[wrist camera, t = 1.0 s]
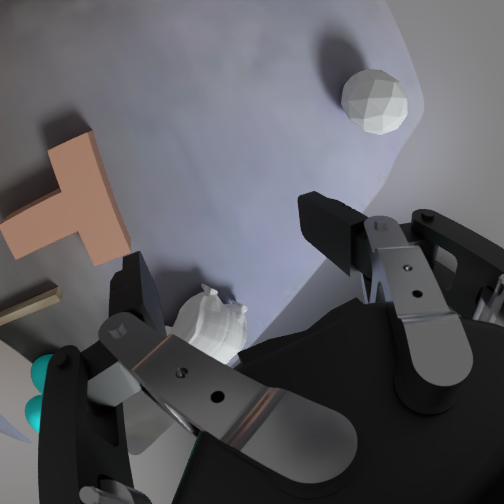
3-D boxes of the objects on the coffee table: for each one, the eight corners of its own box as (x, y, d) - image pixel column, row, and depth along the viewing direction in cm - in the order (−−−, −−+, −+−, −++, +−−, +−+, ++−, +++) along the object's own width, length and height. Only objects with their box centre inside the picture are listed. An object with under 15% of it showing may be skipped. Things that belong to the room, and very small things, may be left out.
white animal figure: (182, 272, 36) (132, 370, 33) (214, 288, 29) (152, 407, 26) (231, 298, 41) (184, 386, 38) (268, 317, 34) (211, 419, 31)
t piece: (-5, 180, 19) (-17, 188, 17) (92, 130, 22) (87, 132, 19) (40, 276, 26) (34, 291, 23) (130, 239, 28) (130, 252, 26)
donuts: (65, 451, 26) (10, 419, 20) (64, 398, 34) (20, 363, 29) (111, 437, 27) (54, 401, 22) (107, 380, 36) (61, 339, 30)
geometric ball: (352, 98, 33) (407, 121, 30) (328, 131, 31) (391, 158, 28) (355, 51, 26) (419, 74, 23) (329, 78, 24) (406, 106, 21)
